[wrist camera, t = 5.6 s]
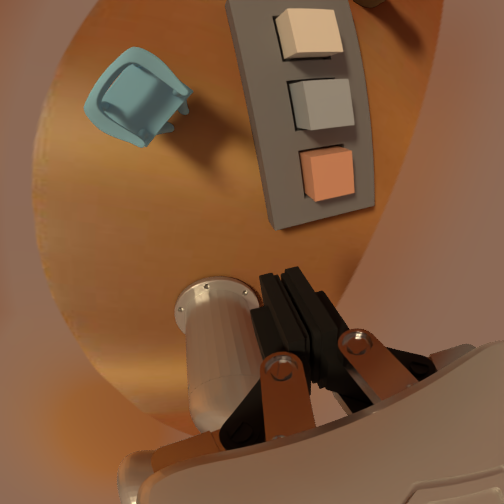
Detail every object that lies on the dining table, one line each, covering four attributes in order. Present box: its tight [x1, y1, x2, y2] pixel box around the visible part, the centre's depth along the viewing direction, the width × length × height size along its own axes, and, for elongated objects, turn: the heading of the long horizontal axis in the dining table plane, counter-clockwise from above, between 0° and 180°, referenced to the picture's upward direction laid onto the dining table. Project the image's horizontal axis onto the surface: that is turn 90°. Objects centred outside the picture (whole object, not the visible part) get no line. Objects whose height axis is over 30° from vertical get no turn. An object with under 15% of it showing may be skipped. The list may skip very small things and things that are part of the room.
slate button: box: [289, 79, 355, 130], centre depth 25 cm, size 5×5×4 cm
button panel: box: [225, 0, 374, 231], centre depth 28 cm, size 28×14×3 cm, turn 11°
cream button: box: [275, 8, 343, 59], centre depth 21 cm, size 5×5×4 cm
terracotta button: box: [298, 145, 354, 202], centre depth 30 cm, size 5×5×4 cm
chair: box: [84, 47, 193, 148], centre depth 21 cm, size 8×8×12 cm
